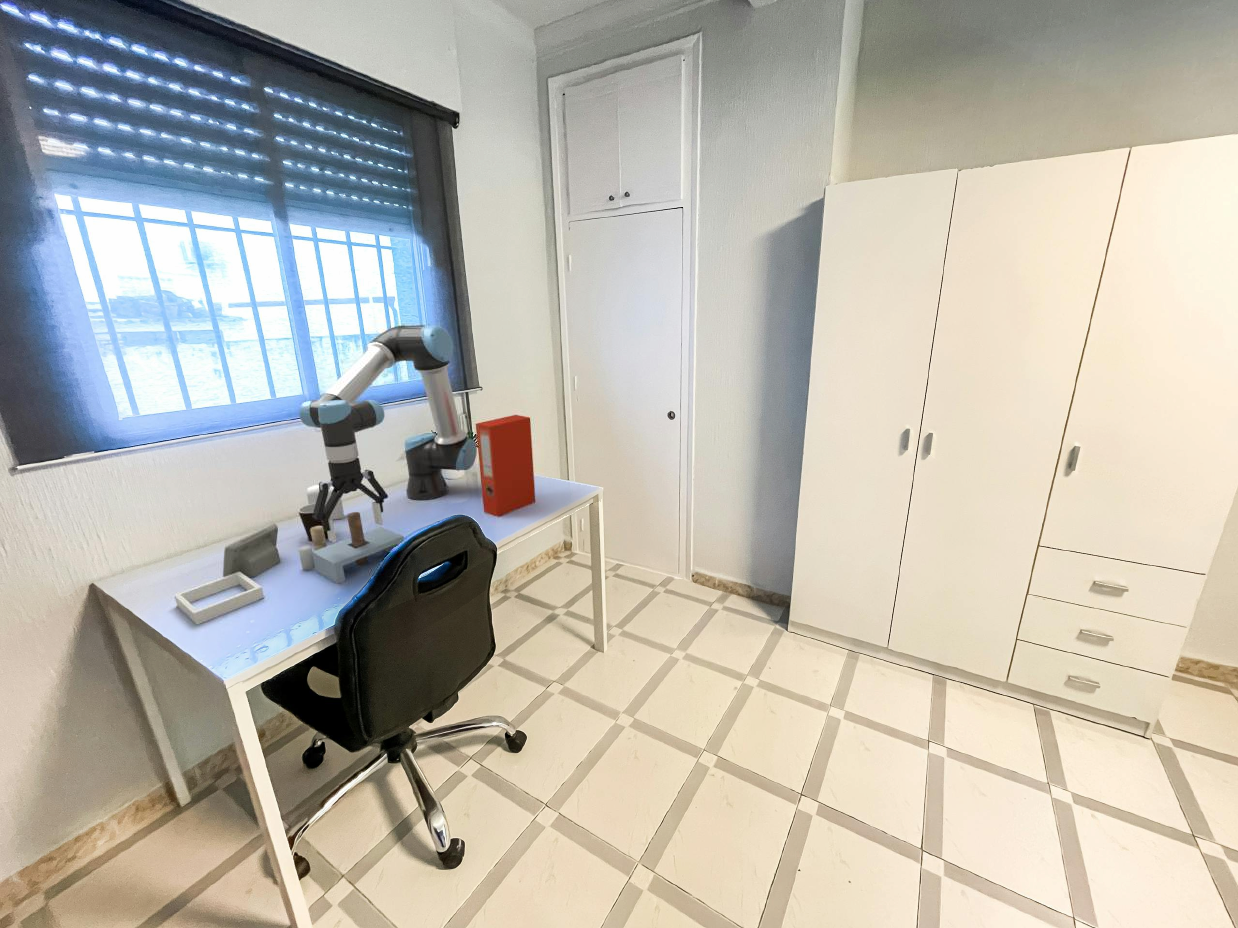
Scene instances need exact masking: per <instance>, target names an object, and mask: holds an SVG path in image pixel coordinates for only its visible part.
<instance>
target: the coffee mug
mask: <svg viewBox="0 0 1238 928" xmlns="http://www.w3.org/2000/svg"><path fill="white" fill-rule="evenodd" d="M315 504H316V503H314V504H309V503H308V504H307V505H304V506H301V507H300V508H298V510H297V511H298V515H299V517H300V520H301V522H302V525H303V528H304V530H305V533H306V536H307V538H308V541H310V542H313V540H312V536H311V531H310V529H311V528H312V527H315V526H322V522H321V520H319V521H318V520H316V519H314V518H312V515H313V512H314V508H315ZM326 504H327V503H325V505H326ZM329 518H330V517H329ZM324 535H325V540H328V539H329V538H328V533H327V532H326V531H324Z"/></svg>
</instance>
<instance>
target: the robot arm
mask: <svg viewBox="0 0 1238 928" xmlns="http://www.w3.org/2000/svg"><path fill="white" fill-rule="evenodd" d="M453 355H454V343H453V340H452V337H451V334H450V333H449V332H448V331H447V329H445V328H444V327H442V326H440V325H431V324H419V325H414V324H413V325H397V326H393V327H391V328H388V329H386V330H385V331H383V332H381V333H380V334H379V335H377V336H376V337H375V338H374V339H372V340H371V341H370V342H369V343H368V344H367V345H366V347H365V352H364V353H363V354H362V355H361V356H360V357H359V358H358V359H357V360H356V361H355V362H354V363H353V364H352V365H351V366H350V367H349V368H348V369H347V370H346V371H345V372H344V373H343V374H342V375H341V376H340V377H339V378H338V379H337V380H336V381H335V382H334V383H333V384H332V385H331V386H330V387H329V388H328V389H327V390H326V391H325V392H323V394H322V395H321V396H320V397H319V398H318V399H317V400H309V401H308V400H307V401H305V402H303V403H302V404H301V405H300V407H299V412H298V414H299V419H300V420H301V423H302V424H304V425H305V426H307V427H310V428H311V427H312V428H317V429H320V430H321V434H322V439H323V444H324V449H325V450H324V452H325V454H326V460H327V461H328V462H327V466H328V473H329V476H330V481H326V482H325V481H324V482H323V481H320V482H319V483H318V485H319V494H318V497H317V501H316V504H315V508H314V512H313V515H312V518H314V519H316V520H318V521H319V520H321V522H322V527H323V530H324V531H326V532H327V533H328V538H327V539H328V541H330V542H332V543H337V537H336V531H335V526H334V521H333V520H334V519H333V520H332V519H331V518H329V517H330V515H331V514H332V512H333V510H334V508H335V506H336V504H337V502H338V501H339V499H340V498H341V499H342V497H343V495H346V494H349V493H351V492H357V491H358V490H359V491H361V492H362V493H364V494H365V495H366V496H368V497H369V498H370V499H372V500H373V501H372V502H371V505H372V512H373V517H374V523H375V524H376V525H378V526H382V525H384V523H383V522H384V521H383V517H382V513H384V505H383V504H384V502H385V500H386V499H388V498H389V495H388V493H387V492H386V491H385V489H384V488H383V487H382V486H381V484H380V483H379V482H378V480H377V478H375V474H374V472H373V470H370V469H365V470H364V471H363V472H362V468H361V461H360V458H359V457H358V456H359V450H358V446H357V445H358V443H357V439H356V433H358V432H361V431H364V430H367V429H371V428H374V427H377V425H380V424H381V423H382V422H383V421H384V419H385V410H384V407H383V406H382V404H381V403H380V402H378V401H376V400H375V399H367V400H365V399H364V400H362V401H359V402H357V400H359V398H360V397H361V396H362V395H363V394H364V392H365V391H366V390H367V389H368V388H369V387H370V386H371V385H372V384H373V382H375V381H376V380H377V378H378V377H379V376H380V375H381V374H382V373H383V372H384V371H385V369H390V368H392V367H393V366H394V365H395V364H397V363H400V362H412V364H413V367H414V370H415V371H417V372H418V373H420V375H421V378H422V382H423V386H424V389H425V393H426V397H427V401H428V405H429V408H430V412H431V416H432V419H433V424H434V427H435V431H436V433H437V434H436V433H435V432H428V433H427V432H426V433H421V434H416V435H413V436H410V437H408V438H406V440H405V441H404V452H405V458H406V464H407V471H408V481H407V485H406V486H407V487H406V497H407V498H408V499H411V500H416V501H421V500H422V501H423V500H426V501H427V500H432V499H437V498H439V497H443V496H444V495H446V494H447V493H448V492H449V489H448V488H449V487H448V484H447V481H446V479H445V477H444V476H443V474H442V470H449V471H450V470H451V471H457V472H459V471H467V470H470V469H471V468H473V465H474V463H475V462H476V458H477V453H478V445H477V444H476V442H475V441H474V440H473V439H471V438H469V437H468V433H467V432H466V430H464V429H463V428H462V427H461V423H460V418H459V415H458V409H457V406H456V402H455V397H454V393H453V390H452V389H453V388H452V386H451V381H450V378H449V373H448V369H447V368H448V367H449V365H450V363H451V362H450V360H451V359H452V358H453ZM363 479H366V480H367V481H368V483H369V484H370V485H371V486H372V488H373V489H374V491H375V492H376V493H377V494H376V493H375V492H374V491H372V490H371V489H369V488H368V487H367V486H366V485H365V484H363V483H362V482H363ZM331 486H333V487H334V489H333V491H332V492H331V496H330V498H329V500H328V502H327V504H326V505H325V503H326V500H327V496H328V490H330V487H331ZM338 491H339V492H338ZM337 492H338V493H337Z"/></svg>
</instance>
